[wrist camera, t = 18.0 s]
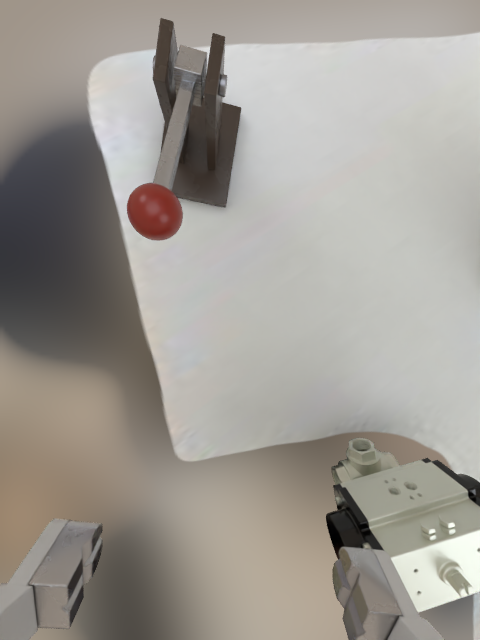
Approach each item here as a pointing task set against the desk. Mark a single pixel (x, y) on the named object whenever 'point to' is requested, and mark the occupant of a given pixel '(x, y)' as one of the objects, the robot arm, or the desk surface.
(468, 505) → the ball valve
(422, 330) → the desk surface
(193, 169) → the block
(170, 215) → the tap lever
